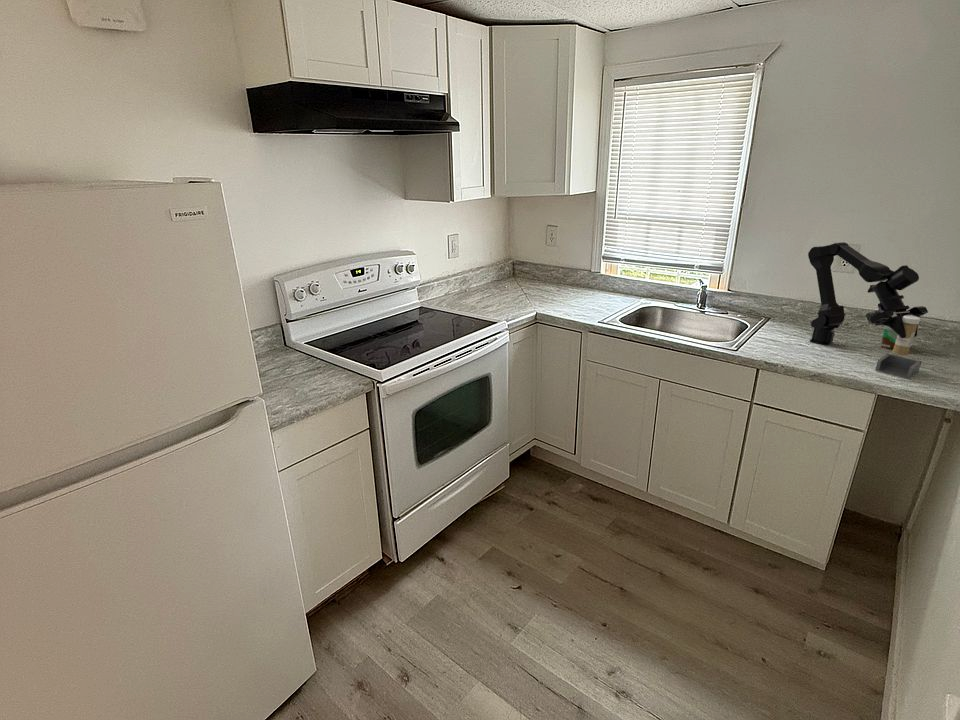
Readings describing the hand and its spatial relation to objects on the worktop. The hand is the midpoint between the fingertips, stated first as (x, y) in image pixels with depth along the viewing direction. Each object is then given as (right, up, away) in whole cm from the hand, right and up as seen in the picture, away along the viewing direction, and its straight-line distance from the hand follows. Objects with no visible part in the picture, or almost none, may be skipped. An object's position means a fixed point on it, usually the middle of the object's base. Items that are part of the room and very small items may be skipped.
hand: (909, 337), depth 176 cm
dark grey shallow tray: (+1, -12, +6) cm, 13 cm away
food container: (+17, -3, +27) cm, 32 cm away
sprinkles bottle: (0, -6, +4) cm, 7 cm away
